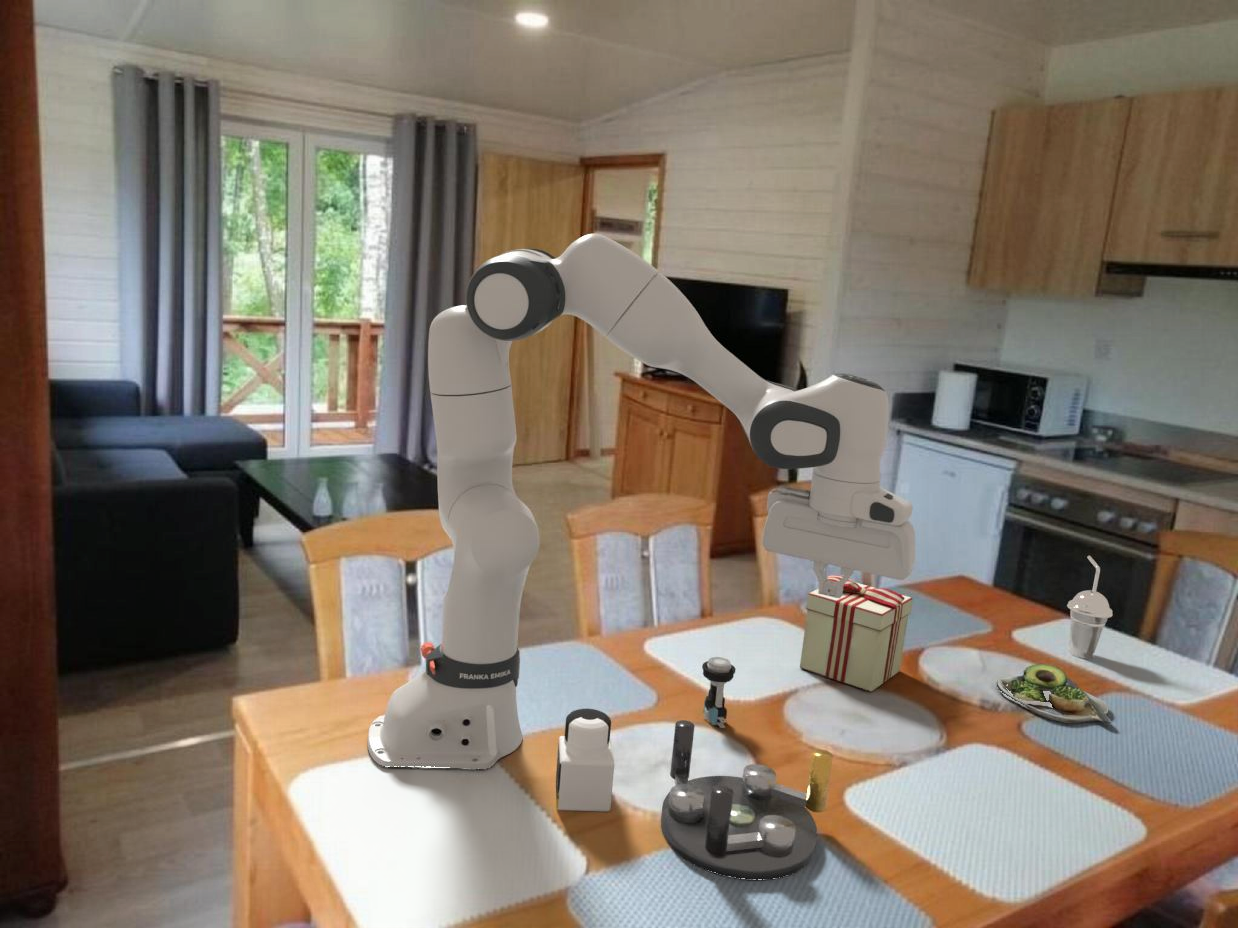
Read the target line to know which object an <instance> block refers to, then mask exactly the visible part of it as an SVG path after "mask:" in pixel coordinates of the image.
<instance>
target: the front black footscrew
mask: <svg viewBox="0 0 1238 928" xmlns="http://www.w3.org/2000/svg"><path fill="white" fill-rule="evenodd" d="M732 801H733V790H732V789H730V788H729V787H726V786H722V785H718V786H714V787H713V788H712V791H711V800H710V808H709V817H708V826H707V835H706V843H705V849H706V850H707V851H708V852H709V853H711V854H714V855H722V854H724V853H726V851H734V850H743V849H751V848H760V849H761V850H762V851H763V852H764V853H766V854H768V855H771V856H776V857H784V856H788V855H790V854H791V853H792V851H793V846H794V839H795V831H796V827H795V825H794V823H793V822H792V821H790V820H789V819H787V818H785V817H782V816H777V815H768V816H765V817H763V818H762V819H761V820H760V824H759V832H755V833H746V834H737V835H728V834H729V826H730V818H731V809H732Z"/></svg>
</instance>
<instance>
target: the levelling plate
mask: <svg viewBox="0 0 1238 928" xmlns="http://www.w3.org/2000/svg"><path fill="white" fill-rule="evenodd" d="M742 779H743V777H739V776H732V775H708V776H703V777H702V776H701V777H697V778H691V779H688V781H689V784H690V785H694V786H696V787H698V788H700V789H701V790H702V791H703V792H704V804H703V813H702V818H701V819H700V820H699V821H697V822H693V823H684V822H680V821H677V820H675V819H673V818H672V817H671V816H670V815H669V812H668V809H669V799H670V791H668V793H667V794H666V795H665V797H664V799H663V802H662V806H661V815H660V828H661V832H662V835H663V837H664V839H665V841H666V843H667V844H668V846H669V847H671V849H672V850H673V851H674V852H675V853H676V854H677V855H679V856H680V857H681V858H683V859H684V860H686V861H688V863H690V864H692V865H694V864H695V865H694V866H695V867H697V866H698V867H697V868H699V867H702V868H704V869H706V870H709V871H712V872H716V873H718V874H721V875H725V876H731V877H736V878H740V879H739V880H741V878H745V879H756V880H755V881H759V880H758V879H762V880H761V881H764V880H763V879H772V880H774V879H773V878H778V879H782V878H784V877H783V876H786V875H789V876H791V875H793V874H792V873H794V874H796V873H798V872H799V871H801V870H803V869H804V868H805V867H806V866H807V865H808V864H809V863H810V862H811V861H812V858H813V857H814V854H815V850H816V849H815V848H816V843H817V835H818V828H817V824H816V820H815V819H814V817H813V814H812V813H810V810H808V809H807V808H806V807H804V806H801V805H798V804H796V803H793V802H790V801H787V800H784V799H781V798H778V797H775V796H773V797H772V798H771V799H768V800H755V799H751V798H749V797H747V796H746V795H744V794H743V792H742V790H741V787H742ZM718 785H722V786H726V787H729V788H730V789H732V790H733V801H732V809H731V818H730V826H729V834H728V835H737V834H746V833H755V832H759V824H760V820H761V819H762V818H763V817H765V816H768V815H777V816H782V817H785V818H787V819H789V820H790V821H792V822H793V823H794V825H795V827H796V831H795V839H794V846H793V851H792V853H791V854H790V855H788V856H784V857H776V856H771V855H768V854H766V853H764V852H763V851H762V850H761V849H760V848H751V849H743V850H734V851H726V853H724V854H722V855H714V854H711V853H709V852H708V851H707V850H706V849H705V843H706V835H707V826H708V817H709V808H710V800H711V791H712V788H713V787H714V786H718ZM702 868H701V869H702ZM704 869H703V870H704ZM706 870H705V871H706ZM709 871H708V872H709ZM712 872H711V873H712ZM721 875H720V876H721ZM725 876H724V877H725ZM779 877H780V878H779ZM781 877H782V878H781ZM786 877H787V876H786Z"/></svg>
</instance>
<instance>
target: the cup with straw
mask: <svg viewBox="0 0 1238 928" xmlns="http://www.w3.org/2000/svg"><path fill="white" fill-rule="evenodd" d="M1087 559H1088V561H1089V562H1090V563H1091V564H1092V565H1093V567H1094V568H1095V574H1094V580H1093V586H1092V590H1091V589H1089V590H1083V591H1080V592H1078V593H1076V595H1075V596H1073V598H1072V599H1071V600H1069V601H1068V603H1067V605H1066V607H1067V608H1068V609H1070V611H1069V612H1070V613H1069V615H1070V617H1069V618H1070V632H1069V651H1068V653H1069V654H1070V655H1072V656H1074V657H1077V658H1078V659H1086V660H1090V659H1091V660H1092V659H1093V658H1094V654H1095V652H1096V650H1097V647H1098V643H1099V641H1100V638H1101V635H1102V631H1103V629H1104V627H1105V626H1106V623H1107V621H1108V619H1109V618H1112V617H1113V614H1114V613H1113V610H1112V608H1110V604H1109V601H1108V599H1107V598H1106V597H1105V596H1104V595H1103V594H1102V593H1100V592H1098V591H1097V590H1098V589H1097V588H1098V584H1099V578H1100V573H1101V567H1100V566H1099V565H1098V564H1097V562H1096V561H1095V560H1094V559H1093V557H1092V556H1091V555H1088V556H1087Z"/></svg>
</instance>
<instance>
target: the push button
mask: <svg viewBox="0 0 1238 928" xmlns="http://www.w3.org/2000/svg"><path fill="white" fill-rule="evenodd" d="M701 666H702V667H701V668H702V670H703V671H702V676H703V677H704V678H706V679H707V680H708V681H709V690H708V695H707V696H705V698H704V705H703V718H704V719H705V720H707V719H708V721H709V723H711V725H712V726H719V728H720V729H722V728H723V729H725V728H726V726H725V725H724V723H726V722H727V721H726V719H727V715H728V709H727V708H726V707H725V703H726V702H725V701H726V698H725V697H724V691H725V690H724V689H725V684H726V683H729V682H731V681H732V680H733V678H734V675H735V674H736V667H735V666H734V665H733V664H732V663H731V661H730V660H729V659H727V658H725V657H722V656H721V657H719V656H713V657H710V658H709V659H708V661H705V662H703V663H702V665H701Z"/></svg>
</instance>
